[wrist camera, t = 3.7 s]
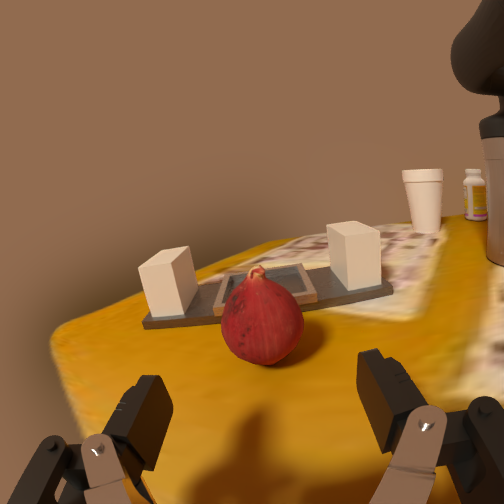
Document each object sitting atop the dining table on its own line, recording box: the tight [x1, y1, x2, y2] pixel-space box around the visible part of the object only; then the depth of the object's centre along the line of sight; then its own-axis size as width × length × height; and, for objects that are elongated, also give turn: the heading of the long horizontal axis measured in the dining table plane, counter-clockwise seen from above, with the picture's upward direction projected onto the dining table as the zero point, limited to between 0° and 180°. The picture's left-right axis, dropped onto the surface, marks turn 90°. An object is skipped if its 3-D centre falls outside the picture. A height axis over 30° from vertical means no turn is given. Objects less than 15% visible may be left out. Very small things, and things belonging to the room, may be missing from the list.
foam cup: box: [402, 169, 444, 233], centre depth 49 cm, size 10×9×13 cm
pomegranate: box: [221, 265, 304, 365], centre depth 19 cm, size 6×6×8 cm
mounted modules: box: [138, 221, 381, 317], centre depth 32 cm, size 26×8×6 cm, turn 89°
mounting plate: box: [142, 263, 393, 329], centre depth 33 cm, size 28×11×2 cm, turn 89°
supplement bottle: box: [463, 169, 487, 221], centre depth 50 cm, size 7×7×13 cm
